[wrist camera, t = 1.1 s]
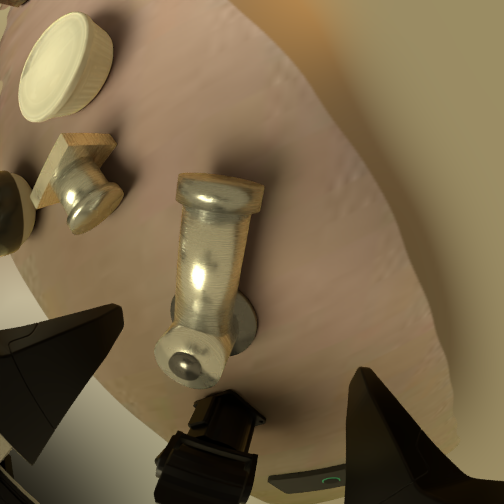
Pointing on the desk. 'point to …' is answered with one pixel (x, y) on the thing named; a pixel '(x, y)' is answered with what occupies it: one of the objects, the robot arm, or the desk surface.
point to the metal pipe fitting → (103, 202)
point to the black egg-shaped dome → (14, 212)
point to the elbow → (207, 276)
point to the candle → (13, 2)
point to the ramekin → (65, 68)
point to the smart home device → (310, 480)
